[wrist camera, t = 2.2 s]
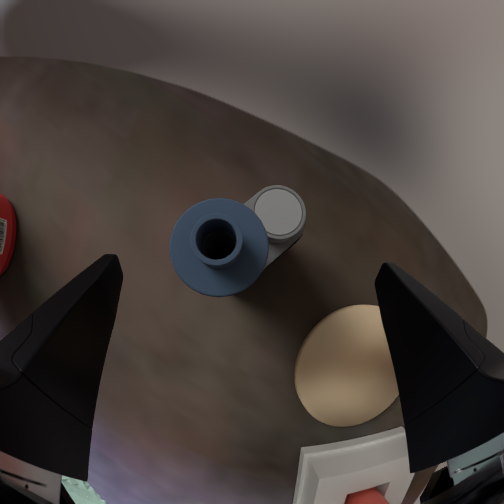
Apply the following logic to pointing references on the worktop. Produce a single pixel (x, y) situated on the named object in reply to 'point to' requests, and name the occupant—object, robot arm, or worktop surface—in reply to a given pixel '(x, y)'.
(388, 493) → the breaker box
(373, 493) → the button
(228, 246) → the vaping device
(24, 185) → the worktop surface
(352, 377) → the coaster
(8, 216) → the canned food
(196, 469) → the worktop surface
